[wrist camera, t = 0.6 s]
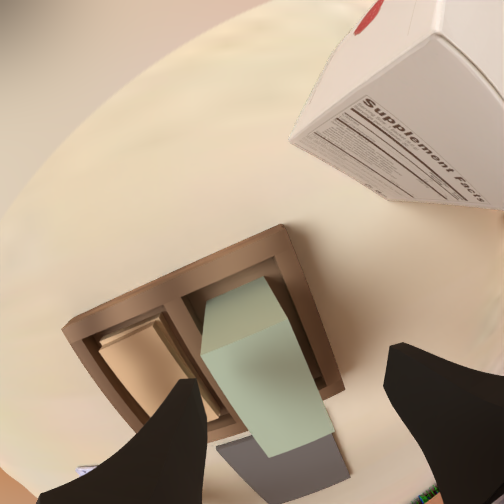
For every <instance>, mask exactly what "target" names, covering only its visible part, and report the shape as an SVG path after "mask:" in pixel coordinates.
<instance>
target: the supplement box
mask: <svg viewBox="0 0 504 504" xmlns="http://www.w3.org/2000/svg"><path fill="white" fill-rule="evenodd" d="M288 141H289V142H290V143H291V144H293V145H295V146H297V147H299V148H300V149H302V150H304V151H306V152H308V153H310V154H312V155H313V156H315V157H317V158H319V159H321V160H322V161H324V162H326V163H328V164H329V165H331V166H333V167H335V168H336V169H338V170H340V171H341V172H343V173H345V174H347V175H348V176H350V177H352V178H353V179H355V180H356V181H358V182H360V183H361V184H363V185H364V186H366V187H368V188H369V189H371V190H372V191H374V192H375V193H377V194H378V195H380V196H381V197H383V198H385V199H386V200H388V201H407V202H421V203H435V204H447V205H457V206H468V207H477V208H485V209H494V210H502V211H504V0H377V1H376V2H375V3H374V4H373V5H372V6H371V8H370V9H369V10H368V11H367V12H366V13H365V14H364V15H363V17H362V18H361V19H360V20H359V21H358V22H357V23H356V25H355V26H354V27H353V28H352V29H351V30H350V31H349V33H348V34H347V35H346V36H345V37H344V38H343V40H342V41H341V42H340V43H339V44H338V45H337V47H336V48H335V49H334V50H333V52H332V53H331V55H330V57H329V59H328V61H327V63H326V64H325V66H324V68H323V70H322V72H321V74H320V76H319V78H318V80H317V82H316V84H315V86H314V88H313V90H312V91H311V93H310V95H309V97H308V99H307V101H306V103H305V105H304V107H303V109H302V111H301V113H300V115H299V117H298V119H297V121H296V123H295V125H294V127H293V129H292V131H291V133H290V136H289V138H288Z"/></svg>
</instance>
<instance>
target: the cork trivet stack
mask: <svg viewBox="0 0 504 504" xmlns="http://www.w3.org/2000/svg"><path fill="white" fill-rule="evenodd" d="M100 343H101V345H102V347H101V348H100V350H99V353H100V354H101V355H102V357H103V358H104V360H105V361H106V362H107V364H108V365H109V367H110V368H111V369H112V371H113V372H114V373H115V375H116V376H117V377H118V379H119V380H120V381H121V382H122V384H123V385H124V386H125V388H126V389H127V390H128V391H129V393H130V394H131V395H132V396H133V397H134V399H135V400H136V401H137V402H138V403H139V405H140V406H141V407H142V408H143V409H144V410H145V412H146V413H147V414H148V415H149V416H150V417H152V415H153V414H154V413H155V412H156V410H157V409H158V408H159V406H160V405H161V404H162V402H163V401H164V400H165V398H166V397H167V396H168V394H169V393H170V391H171V390H172V388H173V387H174V386H175V384H176V383H177V381H178V380H179V379H188V378H197V382H198V386H199V390H200V394H201V397H202V401H203V405H204V408H205V412H206V415H207V422H209V421H212V420H215V419H218V418H219V416H220V415H221V410H220V407H219V405H218V404H217V402H216V401H215V399H214V398H213V396H212V395H211V393H210V392H209V390H208V389H207V387H206V386H205V384H204V383H203V381H202V380H201V378H200V377H199V375H198V373H197V372H196V370H195V369H194V367H193V365H192V364H191V362H190V361H189V359H188V357H187V356H186V354H185V352H184V351H183V349H182V347H181V346H180V344H179V342H178V341H177V339H176V337H175V336H174V334H173V332H172V330H171V329H170V327H169V325H168V323H167V321H166V320H165V318H164V316H163V314H162V312H160V313H158V314H156V315H153V316H151V317H149V318H146V319H144V320H141V321H139V322H137V323H134V324H132V325H129V326H127V327H125V328H122V329H120V330H117V331H115V332H113V333H110V334H108V335H105V336H103V338H102V339H101V340H100Z"/></svg>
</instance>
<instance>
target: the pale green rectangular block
mask: <svg viewBox="0 0 504 504" xmlns="http://www.w3.org/2000/svg"><path fill="white" fill-rule="evenodd" d="M200 356H201V358H202V359H203V361H204V363H205V364H206V366H207V368H208V369H209V371H210V372H211V374H212V376H213V377H214V379H215V380H216V382H217V384H218V385H219V387H220V388H221V390H222V391H223V393H224V395H225V396H226V398H227V399H228V401H229V402H230V404H231V405H232V407H233V408H234V410H235V411H236V413H237V414H238V416H239V417H240V419H241V420H242V421H243V423H244V424H245V426H246V427H247V429H248V430H249V431H250V433H251V434H252V436H253V437H254V438H255V440H256V441H257V443H258V444H259V445H260V447H261V448H262V449H263V451H264V452H265V453H266V455H267V456H268V457H269V458H270V457H273V456H276V455H279V454H282V453H284V452H287V451H290V450H292V449H295V448H298V447H300V446H303V445H305V444H308V443H310V442H312V441H315V440H317V439H319V438H322V437H324V436H326V435H328V434H331V433H333V432H335V430H334V427H333V425H332V422H331V420H330V418H329V415H328V413H327V410H326V408H325V406H324V403H323V401H322V398H321V396H320V394H319V391H318V389H317V386H316V384H315V382H314V379H313V377H312V375H311V372H310V370H309V367H308V365H307V363H306V360H305V358H304V356H303V353H302V351H301V348H300V346H299V344H298V341H297V339H296V337H295V334H294V332H293V330H292V327H291V325H290V322H289V320H288V318H287V316H286V315H285V313H284V311H283V309H282V308H281V306H280V304H279V302H278V301H277V299H276V297H275V295H274V294H273V292H272V290H271V288H270V287H269V285H268V283H267V281H266V280H265V278H264V276H262V277H260V278H258V279H256V280H253V281H251V282H249V283H247V284H244V285H242V286H240V287H238V288H235V289H233V290H231V291H228V292H226V293H224V294H222V295H219V296H217V297H215V298H212V299H210V300H208V301H206V308H205V317H204V326H203V334H202V344H201V353H200Z"/></svg>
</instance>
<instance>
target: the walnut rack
mask: <svg viewBox="0 0 504 504" xmlns="http://www.w3.org/2000/svg"><path fill="white" fill-rule="evenodd" d="M262 276H264V278H265V280H266V281H267V283H268V285H269V287H270V288H271V290H272V292H273V294H274V295H275V297H276V299H277V301H278V302H279V304H280V306H281V308H282V309H283V311H284V313H285V315H286V316H287V318H288V320H289V322H290V325H291V327H292V330H293V332H294V334H295V337H296V339H297V341H298V344H299V346H300V348H301V351H302V353H303V356H304V358H305V360H306V363H307V365H308V367H309V370H310V372H311V375H312V377H313V379H314V382H315V384H316V386H317V389H318V391H319V394H320V396H321V398H322V401H323V400H325V399H327V398H330V397H332V396H334V395H336V394H338V393H340V392H342V391H344V390H345V387H344V384H343V381H342V378H341V375H340V372H339V369H338V366H337V364H336V361H335V358H334V355H333V352H332V349H331V346H330V344H329V341H328V338H327V335H326V332H325V330H324V327H323V324H322V321H321V319H320V316H319V313H318V311H317V308H316V305H315V303H314V300H313V297H312V295H311V292H310V289H309V287H308V284H307V281H306V279H305V276H304V274H303V271H302V268H301V266H300V263H299V261H298V258H297V256H296V253H295V251H294V248H293V246H292V243H291V241H290V238H289V236H288V233H287V231H286V228H284V226H283V225H282V224H279V225H277V226H275V227H272V228H270V229H268V230H265V231H263V232H261V233H259V234H256V235H254V236H252V237H249V238H247V239H245V240H243V241H240V242H238V243H236V244H234V245H231V246H229V247H227V248H225V249H222V250H220V251H218V252H216V253H213V254H211V255H209V256H207V257H204V258H202V259H200V260H198V261H196V262H193V263H191V264H189V265H187V266H184V267H182V268H180V269H178V270H176V271H173V272H171V273H169V274H167V275H165V276H162V277H160V278H158V279H156V280H154V281H151V282H149V283H147V284H145V285H143V286H140V287H138V288H136V289H134V290H132V291H130V292H127V293H125V294H123V295H121V296H119V297H117V298H114V299H112V300H110V301H108V302H106V303H104V304H101V305H99V306H97V307H95V308H93V309H91V310H89V311H87V312H84V313H82V314H80V315H78V316H76V317H74V318H72V319H71V320H70V321H69V323H67V324H66V325H65V326H64V327H63V328H62V329H61V330H62V331H63V333H64V335H65V337H66V338H67V340H68V342H69V343H70V345H71V346H72V348H73V350H74V351H75V353H76V354H77V356H78V358H79V359H80V361H81V362H82V364H83V365H84V367H85V368H86V370H87V371H88V373H89V374H90V375H91V377H92V378H93V380H94V381H95V383H96V384H97V385H98V387H99V388H100V389H101V391H102V392H103V393H104V395H105V396H106V397H107V399H108V400H109V401H110V403H111V404H112V405H113V406H114V408H115V409H116V410H117V411H118V413H119V414H120V415H121V416H122V417H123V419H124V420H125V421H126V422H127V423H128V425H129V426H130V427H131V428H132V429H133V430H134V431H135V433H136V434H137V433H138V431H139V430H140V429H141V428H142V427H143V426H144V425H145V424H146V422H147V421H148V420H149V419H150V418H151V417H150V416H149V415H148V414H147V413H146V412H145V410H144V409H143V408H142V407H141V406H140V405H139V403H138V402H137V401H136V400H135V399H134V397H133V396H132V395H131V394H130V393H129V391H128V390H127V389H126V388H125V386H124V385H123V384H122V382H121V381H120V380H119V379H118V377H117V376H116V375H115V373H114V372H113V371H112V369H111V368H110V367H109V365H108V364H107V362H106V361H105V360H104V358H103V357H102V355H101V354H100V353H99V350H100V348H101V347H102V345H101V343H100V340H101V339H102V338H103V336H105V335H108V334H110V333H113V332H115V331H117V330H120V329H122V328H125V327H127V326H129V325H132V324H134V323H137V322H139V321H141V320H144V319H146V318H149V317H151V316H153V315H156V314H158V313H160V312H162V314H163V316H164V318H165V320H166V321H167V323H168V325H169V327H170V329H171V330H172V332H173V334H174V336H175V337H176V339H177V341H178V342H179V344H180V346H181V347H182V349H183V351H184V352H185V354H186V356H187V357H188V359H189V361H190V362H191V364H192V365H193V367H194V369H195V370H196V372H197V373H198V375H199V377H200V378H201V380H202V381H203V383H204V384H205V386H206V387H207V389H208V390H209V392H210V393H211V395H212V396H213V398H214V399H215V401H216V402H217V404H218V405H219V407H220V410H221V415H220V416H219V418H218V419H215V420H212V421H209V422H207V435H208V441H207V443H210V442H213V441H217V440H220V439H224V438H227V437H230V436H233V435H236V434H240V433H243V432H246V431H249V430H248V429H247V427H246V426H245V424H244V423H243V421H242V420H241V419H240V417H239V416H238V414H237V413H236V411H235V410H234V408H233V407H232V405H231V404H230V402H229V401H228V399H227V398H226V396H225V395H224V393H223V391H222V390H221V388H220V387H219V385H218V384H217V382H216V380H215V379H214V377H213V376H212V374H211V372H210V371H209V369H208V368H207V366H206V364H205V363H204V361H203V359H202V358H201V356H200V353H201V344H202V334H203V326H204V317H205V308H206V301H208V300H210V299H212V298H215V297H217V296H219V295H222V294H224V293H226V292H228V291H231V290H233V289H235V288H238V287H240V286H242V285H244V284H247V283H249V282H251V281H253V280H256V279H258V278H260V277H262Z"/></svg>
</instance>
